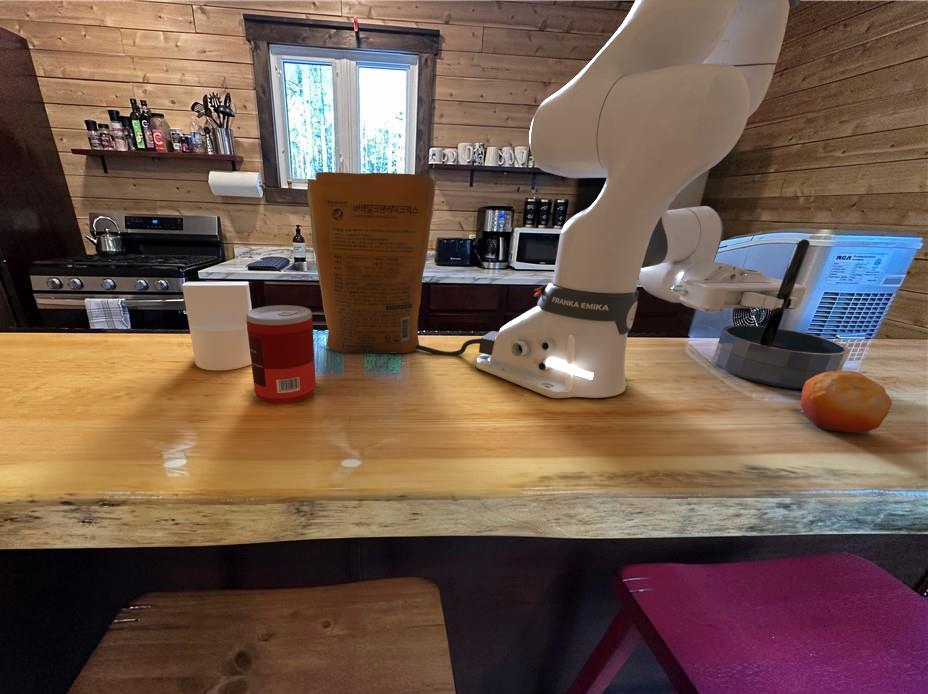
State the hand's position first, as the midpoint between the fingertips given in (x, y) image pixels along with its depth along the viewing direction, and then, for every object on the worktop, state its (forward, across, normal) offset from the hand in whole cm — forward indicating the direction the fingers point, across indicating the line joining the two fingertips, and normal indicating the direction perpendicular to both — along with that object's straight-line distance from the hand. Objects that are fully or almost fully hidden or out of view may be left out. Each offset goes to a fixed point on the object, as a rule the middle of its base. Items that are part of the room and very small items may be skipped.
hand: (786, 304), depth 67 cm
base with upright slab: (-17, -86, +12) cm, 88 cm away
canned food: (-3, -76, +12) cm, 77 cm away
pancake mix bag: (-19, -62, +12) cm, 66 cm away
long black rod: (-1, 0, +10) cm, 10 cm away
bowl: (0, +2, +12) cm, 12 cm away
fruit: (+17, -8, +12) cm, 22 cm away
